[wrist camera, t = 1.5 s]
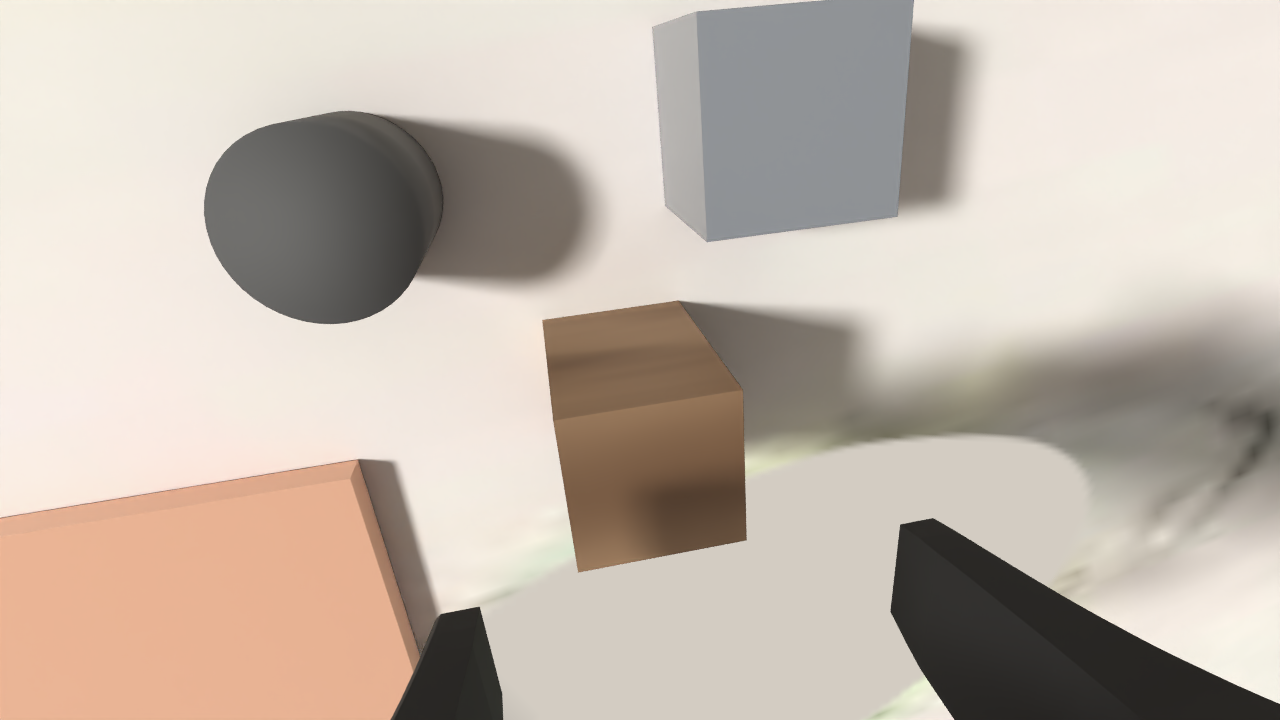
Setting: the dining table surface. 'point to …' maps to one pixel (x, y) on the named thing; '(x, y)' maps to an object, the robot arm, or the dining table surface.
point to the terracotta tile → (205, 605)
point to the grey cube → (783, 114)
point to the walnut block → (645, 434)
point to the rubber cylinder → (324, 214)
